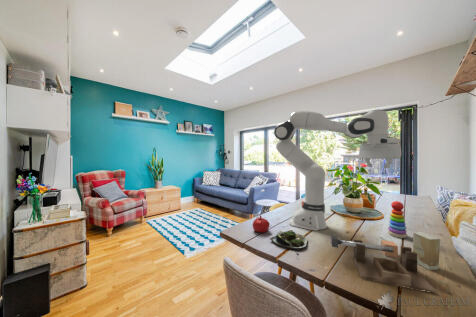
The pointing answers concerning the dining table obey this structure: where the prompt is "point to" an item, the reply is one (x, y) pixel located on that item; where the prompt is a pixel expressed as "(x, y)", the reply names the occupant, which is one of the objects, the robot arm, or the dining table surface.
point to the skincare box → (426, 250)
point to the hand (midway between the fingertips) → (377, 167)
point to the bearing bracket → (391, 269)
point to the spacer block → (390, 244)
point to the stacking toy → (397, 221)
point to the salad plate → (290, 240)
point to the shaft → (336, 241)
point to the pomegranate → (260, 225)
